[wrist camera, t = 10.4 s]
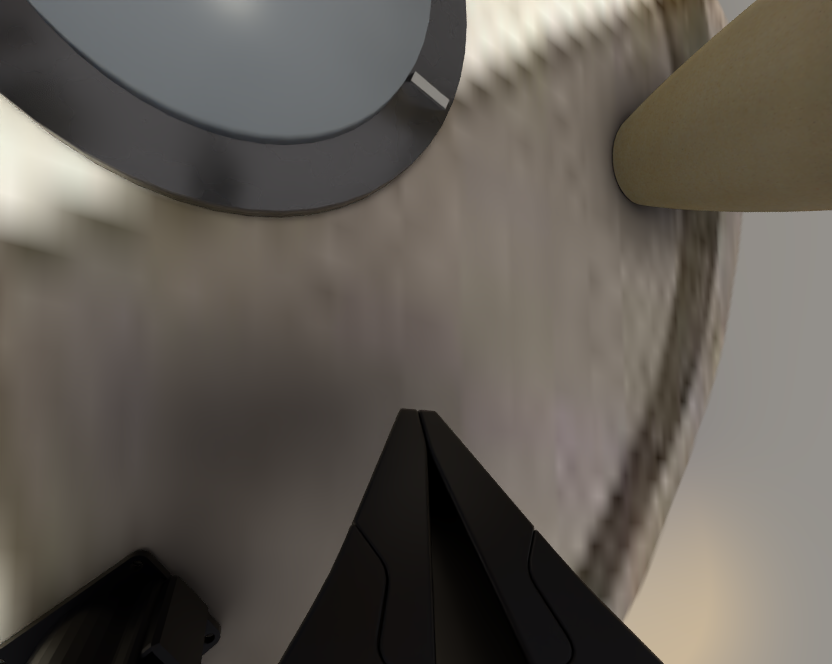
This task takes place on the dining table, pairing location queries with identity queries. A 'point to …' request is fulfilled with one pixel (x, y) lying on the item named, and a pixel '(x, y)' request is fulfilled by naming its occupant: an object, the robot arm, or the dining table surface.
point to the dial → (250, 59)
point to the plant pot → (740, 119)
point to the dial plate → (218, 155)
